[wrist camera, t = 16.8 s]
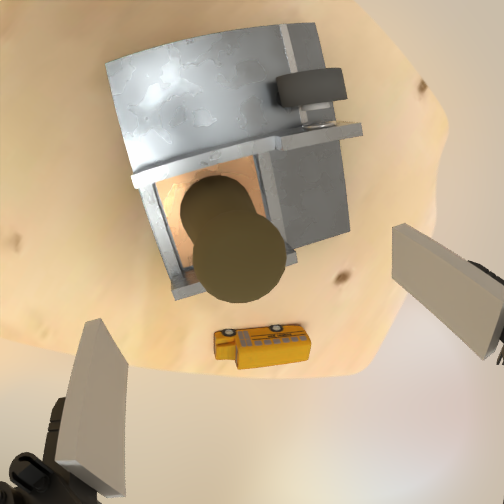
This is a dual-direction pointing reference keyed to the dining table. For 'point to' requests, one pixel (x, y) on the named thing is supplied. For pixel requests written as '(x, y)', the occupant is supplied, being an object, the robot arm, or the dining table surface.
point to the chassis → (231, 136)
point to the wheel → (311, 88)
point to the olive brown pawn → (231, 241)
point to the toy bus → (262, 346)
